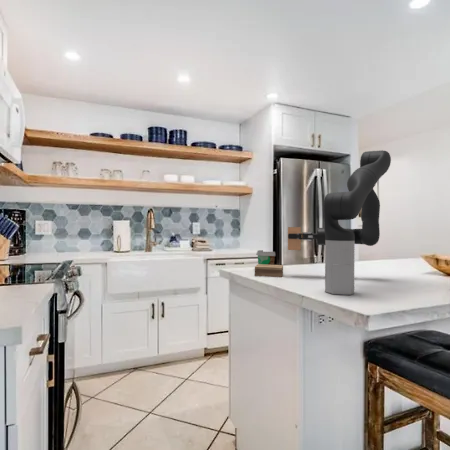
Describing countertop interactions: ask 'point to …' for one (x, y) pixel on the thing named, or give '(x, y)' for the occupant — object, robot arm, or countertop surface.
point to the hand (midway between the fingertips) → (288, 236)
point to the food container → (265, 257)
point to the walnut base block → (269, 270)
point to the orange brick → (294, 243)
